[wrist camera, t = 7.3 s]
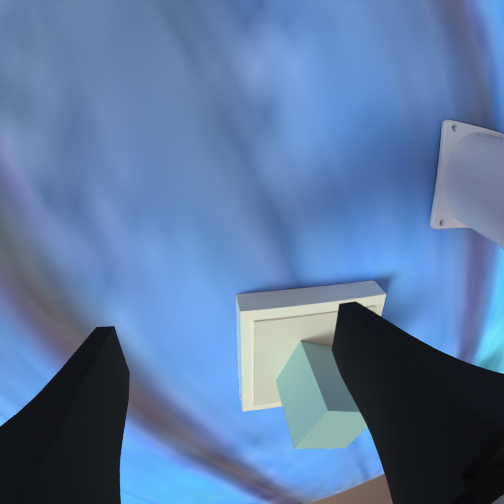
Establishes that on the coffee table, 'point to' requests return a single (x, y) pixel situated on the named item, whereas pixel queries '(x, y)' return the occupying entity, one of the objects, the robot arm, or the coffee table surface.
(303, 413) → the block
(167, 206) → the coffee table surface
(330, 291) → the tray
